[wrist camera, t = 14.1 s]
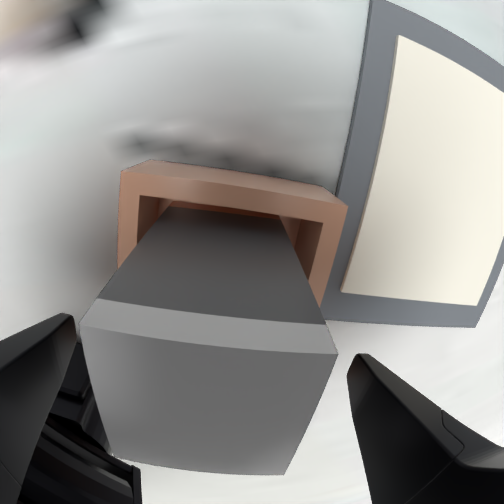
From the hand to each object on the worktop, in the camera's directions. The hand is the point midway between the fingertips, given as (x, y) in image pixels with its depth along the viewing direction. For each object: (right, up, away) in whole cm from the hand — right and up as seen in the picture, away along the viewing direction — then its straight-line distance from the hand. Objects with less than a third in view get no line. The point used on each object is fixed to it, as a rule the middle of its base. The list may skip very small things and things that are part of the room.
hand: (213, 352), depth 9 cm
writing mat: (+12, +7, +6) cm, 15 cm away
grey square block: (0, +3, +7) cm, 7 cm away
